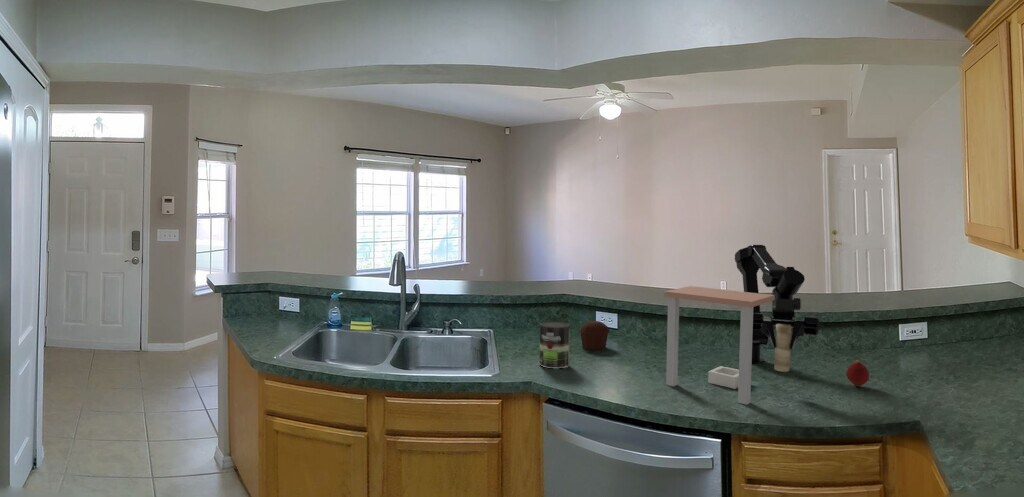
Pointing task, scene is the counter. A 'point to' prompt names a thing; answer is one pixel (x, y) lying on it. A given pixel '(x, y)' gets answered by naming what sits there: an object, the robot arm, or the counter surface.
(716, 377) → the socket
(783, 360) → the peg
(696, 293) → the pink topped table
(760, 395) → the counter surface
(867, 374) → the onion
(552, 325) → the coffee can
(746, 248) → the robot arm
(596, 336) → the muffin
